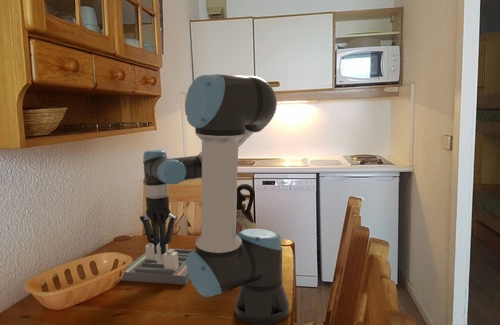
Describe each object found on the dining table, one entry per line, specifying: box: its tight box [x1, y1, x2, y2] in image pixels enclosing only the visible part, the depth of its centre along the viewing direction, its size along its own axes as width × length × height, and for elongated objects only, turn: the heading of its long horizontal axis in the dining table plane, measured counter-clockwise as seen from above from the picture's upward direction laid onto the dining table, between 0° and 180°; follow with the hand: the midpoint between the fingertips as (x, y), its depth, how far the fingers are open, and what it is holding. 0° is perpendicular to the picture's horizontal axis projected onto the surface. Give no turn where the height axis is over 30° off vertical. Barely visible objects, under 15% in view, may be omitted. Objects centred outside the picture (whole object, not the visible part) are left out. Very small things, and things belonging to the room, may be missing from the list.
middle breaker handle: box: [145, 242, 157, 260], centre depth 135 cm, size 3×4×7 cm
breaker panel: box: [121, 248, 195, 286], centre depth 135 cm, size 22×24×4 cm
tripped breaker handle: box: [163, 248, 179, 272], centre depth 126 cm, size 3×4×7 cm
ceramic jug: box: [236, 183, 259, 236], centre depth 139 cm, size 17×15×30 cm
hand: (160, 262), depth 127 cm, fingers closed
